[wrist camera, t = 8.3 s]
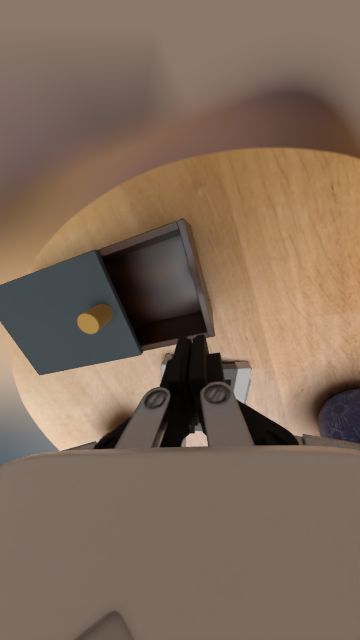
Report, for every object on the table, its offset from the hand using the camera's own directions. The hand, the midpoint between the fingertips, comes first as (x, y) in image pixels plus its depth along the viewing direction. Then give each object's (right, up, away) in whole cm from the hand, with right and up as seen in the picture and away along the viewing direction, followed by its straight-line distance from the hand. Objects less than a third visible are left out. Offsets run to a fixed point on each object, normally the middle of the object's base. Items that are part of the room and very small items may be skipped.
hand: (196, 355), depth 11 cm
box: (-6, +8, +19) cm, 21 cm away
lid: (-16, +2, +13) cm, 21 cm away
